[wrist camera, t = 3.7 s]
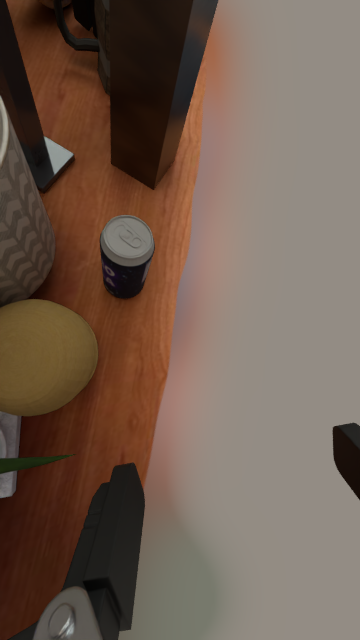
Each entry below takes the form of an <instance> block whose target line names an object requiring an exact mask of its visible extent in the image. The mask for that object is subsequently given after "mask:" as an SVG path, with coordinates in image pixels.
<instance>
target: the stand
mask: <svg viewBox="0 0 360 640" xmlns="http://www.w3.org/2000/svg"><path fill="white" fill-rule="evenodd" d="M217 3H218V0H109V30H110V123H111V164H113V165H114V166H116V167H118V168H119V169H121V170H122V171H124V172H126V173H127V174H129V175H130V176H132V177H134V178H135V179H137V180H139V181H140V182H142V183H143V184H145V185H147V186H148V187H150V188H151V189H153V190H154V189H155V187H156V186H157V185H158V183H159V182H160V180H161V179H162V177H163V176H164V174H165V173H166V172H167V170H168V169H169V167H170V166H171V164H172V163H173V162H174V160H175V156H176V153H177V149H178V145H179V142H180V138H181V135H182V131H183V127H184V124H185V120H186V116H187V113H188V109H189V105H190V102H191V98H192V94H193V91H194V87H195V83H196V80H197V76H198V72H199V69H200V65H201V62H202V58H203V54H204V51H205V47H206V43H207V40H208V36H209V32H210V29H211V25H212V21H213V18H214V14H215V10H216V7H217Z"/></svg>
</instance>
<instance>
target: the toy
mask: <svg viewBox="0 0 360 640" xmlns="http://www.w3.org/2000/svg"><path fill="white" fill-rule="evenodd" d="M94 3H95V0H72V6H73V11H74V16H75V19H76V20H77V21H78V22H79V23H80V24H81V25H82V26H84V27H85V28H86V29H87V30H88V31H90V29H91V27H93V34H94V36H95V37H96V38H97V39H98V36H97V28H96V20H95V12H94Z"/></svg>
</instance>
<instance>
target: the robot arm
mask: <svg viewBox="0 0 360 640" xmlns="http://www.w3.org/2000/svg"><path fill="white" fill-rule="evenodd" d="M333 455H334V461H335V464H336V466H337V469H338V471H339V472H340V474H341V475H342V477H343V478H344V479H345V481H346V482H347V484H348V485H349V486H350V487H351V489H352V490H353V492H354V493H355V494H356V496H357V497H358V498H359V500H360V426H359V425H357V424H356V423H350V424H344V425H339V426H334V427H333ZM144 508H145V499H144V491H143V488H142V485H141V481H140V478H139V475H138V472H137V469H136V466H135V464H134V463H127V464H122V465H117V466H115V467H114V468H113V472H112V475H111V479H110V482H107V483H102V484H101V486H100V487H99V489H98V490H97V492H96V493H95V495H94V496H93V498H92V501H91V504H90V507H89V510H88V515H87V516H86V519H85V522H84V525H83V526H84V528H83V529H82V531H81V535H80V538H79V541H78V544H77V547H76V550H75V553H74V556H73V559H72V562H71V565H70V568H69V571H68V574H67V577H66V580H65V583H64V586H63V588H62V590H61V592H60V593H59V594H58V595H57V596H56V597H55V598H54V599H53V600H52V601H51V602H50V603H49V604H48V606H47V607H46V609H45V610H44V611H43V613H42V615H41V617H40V619H39V620H38V621H37V622H36V623H34V624H33V625H31V626H30V627H28V628H26V629H25V630H23V631H21V632H20V633H18V634H16V635H15V636H13V637H11V638H10V639H8V640H118V636H119V631H125V630H130V629H131V624H132V615H133V606H134V597H135V589H136V579H137V571H138V561H139V553H140V544H141V536H142V527H143V518H144Z"/></svg>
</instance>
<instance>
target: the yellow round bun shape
mask: <svg viewBox="0 0 360 640" xmlns="http://www.w3.org/2000/svg"><path fill="white" fill-rule="evenodd" d="M97 361H98V344H97V340H96V337H95V334H94V332H93V330H92V329H91V327H90V325H89V324H88V323H87V322H86V321H85V320H84V319H83V318H82V317H81V316H80V315H78V314H77V313H75V312H74V311H72V310H70V309H68V308H66V307H64V306H62V305H60V304H57V303H54V302H51V301H47V300H39V299H31V300H21V301H17V302H14V303H11V304H7V305H5V306H3V307H1V308H0V411H1V412H4V413H8V414H11V415H16V416H35V415H42V414H46V413H49V412H52V411H54V410H57V409H59V408H61V407H62V406H64V405H65V404H67V403H68V402H70V401H71V400H72V399H73V398H74V397H75V396H76V395H77V394H78V393H79V392H80V391H81V390H83V389H84V388H85V386H86V385H87V384H88V382H89V381H90V379H91V378H92V376H93V374H94V371H95V369H96V366H97Z"/></svg>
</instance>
